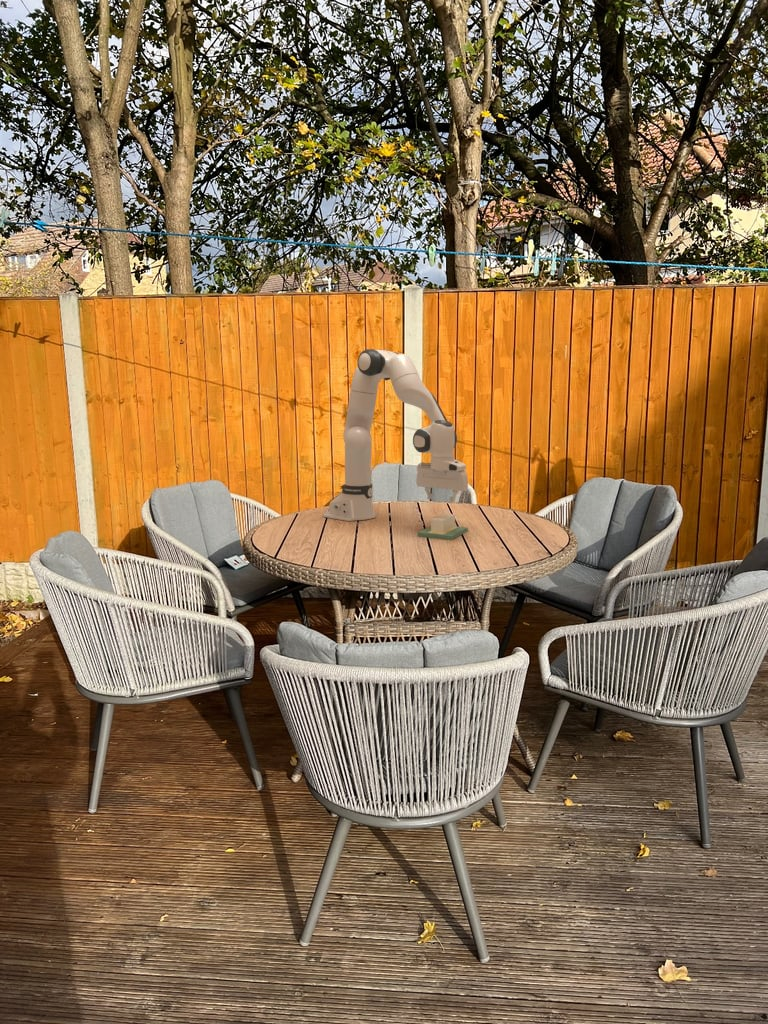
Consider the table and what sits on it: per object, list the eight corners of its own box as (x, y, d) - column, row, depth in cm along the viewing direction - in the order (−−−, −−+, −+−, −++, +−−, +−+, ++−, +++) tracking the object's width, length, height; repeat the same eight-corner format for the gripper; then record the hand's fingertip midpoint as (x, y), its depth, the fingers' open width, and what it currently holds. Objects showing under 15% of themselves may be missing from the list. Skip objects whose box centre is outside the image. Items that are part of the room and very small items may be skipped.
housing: (431, 532, 288) (431, 519, 287) (443, 525, 298) (443, 513, 296) (443, 533, 285) (443, 520, 284) (455, 527, 295) (455, 514, 294)
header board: (417, 536, 288) (417, 523, 287) (435, 527, 302) (435, 515, 301) (451, 540, 282) (451, 527, 281) (467, 531, 295) (468, 518, 294)
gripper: (413, 462, 288) (413, 498, 291) (463, 467, 278) (462, 504, 281) (421, 460, 293) (420, 496, 296) (470, 465, 284) (468, 501, 286)
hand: (441, 500), depth 289 cm, fingers open, 8 cm apart
